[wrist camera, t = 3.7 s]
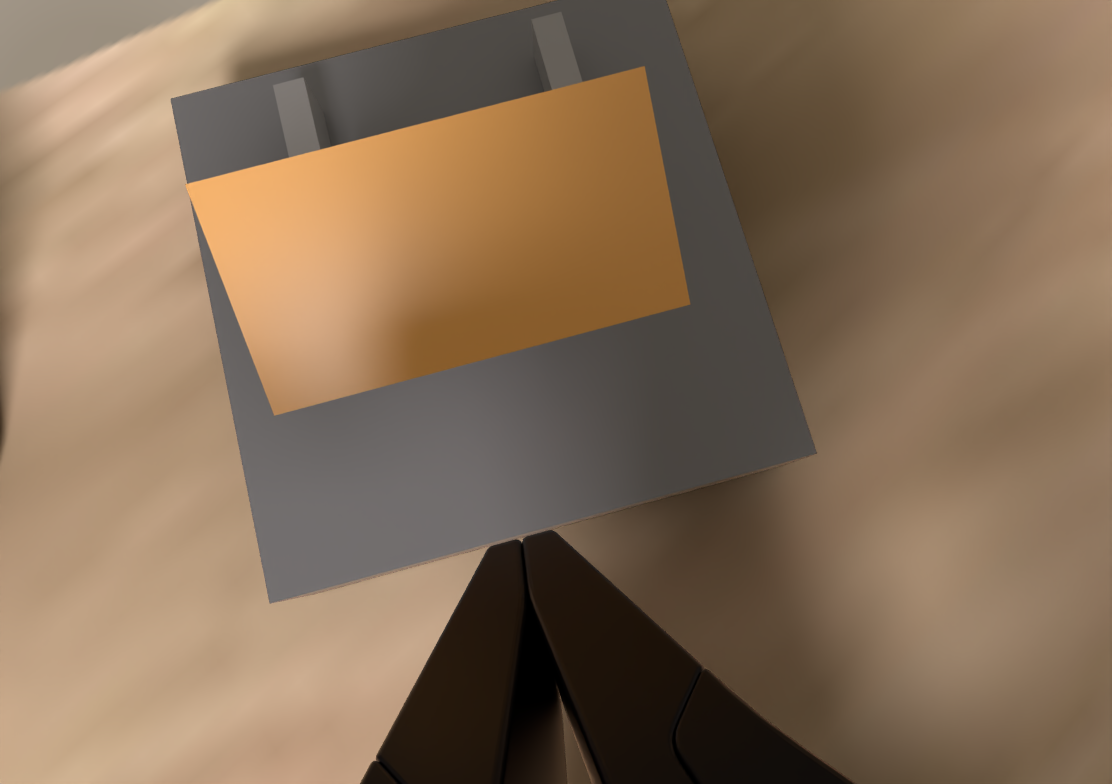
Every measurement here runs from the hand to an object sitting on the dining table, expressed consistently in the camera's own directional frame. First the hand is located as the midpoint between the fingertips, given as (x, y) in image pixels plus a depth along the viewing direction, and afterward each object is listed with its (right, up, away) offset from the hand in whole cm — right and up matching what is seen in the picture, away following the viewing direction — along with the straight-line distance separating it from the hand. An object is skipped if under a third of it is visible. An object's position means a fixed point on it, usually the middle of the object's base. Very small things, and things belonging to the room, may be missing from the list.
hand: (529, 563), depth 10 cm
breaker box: (-2, +5, +15) cm, 15 cm away
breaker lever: (-2, +7, +11) cm, 14 cm away
